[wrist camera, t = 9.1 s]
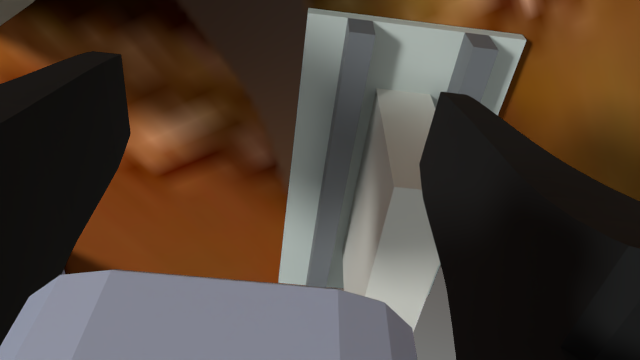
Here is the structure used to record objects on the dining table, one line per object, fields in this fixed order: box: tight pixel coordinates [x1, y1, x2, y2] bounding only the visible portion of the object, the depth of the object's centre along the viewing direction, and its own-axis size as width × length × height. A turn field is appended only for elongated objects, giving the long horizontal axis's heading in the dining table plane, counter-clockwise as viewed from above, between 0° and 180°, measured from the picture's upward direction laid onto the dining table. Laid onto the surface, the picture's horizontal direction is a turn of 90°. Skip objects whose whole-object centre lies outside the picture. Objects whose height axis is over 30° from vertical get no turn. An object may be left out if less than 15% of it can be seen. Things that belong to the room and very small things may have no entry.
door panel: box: [342, 88, 440, 332], centre depth 22 cm, size 2×10×7 cm, turn 173°
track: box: [278, 8, 527, 296], centre depth 25 cm, size 9×16×2 cm, turn 173°
